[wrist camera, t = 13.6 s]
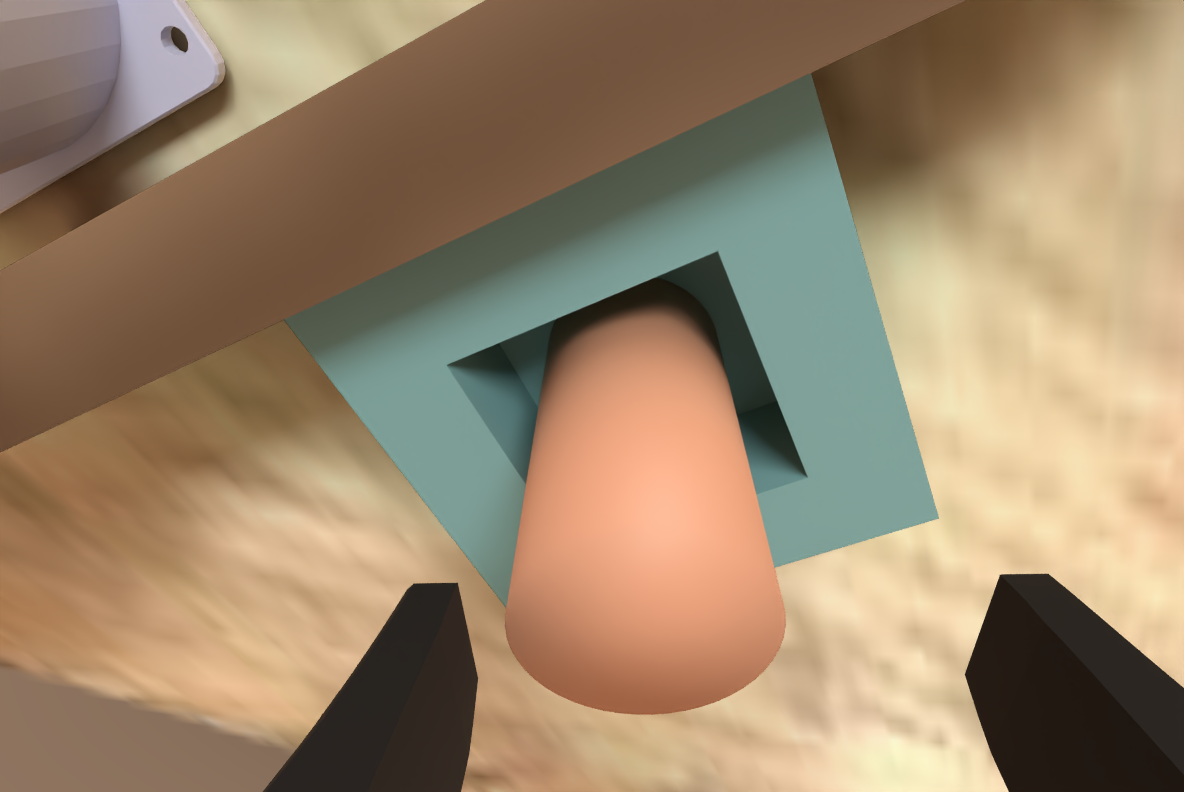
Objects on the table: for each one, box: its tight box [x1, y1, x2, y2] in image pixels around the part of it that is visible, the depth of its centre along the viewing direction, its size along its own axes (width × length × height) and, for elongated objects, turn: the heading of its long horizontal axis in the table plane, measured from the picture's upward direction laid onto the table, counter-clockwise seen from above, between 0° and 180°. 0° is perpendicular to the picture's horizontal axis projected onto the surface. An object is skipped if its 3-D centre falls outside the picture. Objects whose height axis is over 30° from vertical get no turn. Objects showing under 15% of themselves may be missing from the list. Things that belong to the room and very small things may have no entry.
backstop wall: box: [0, 0, 965, 452], centre depth 12 cm, size 2×24×6 cm, turn 115°
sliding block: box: [284, 73, 939, 607], centre depth 16 cm, size 10×10×4 cm
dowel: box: [505, 278, 786, 714], centre depth 14 cm, size 4×4×8 cm
